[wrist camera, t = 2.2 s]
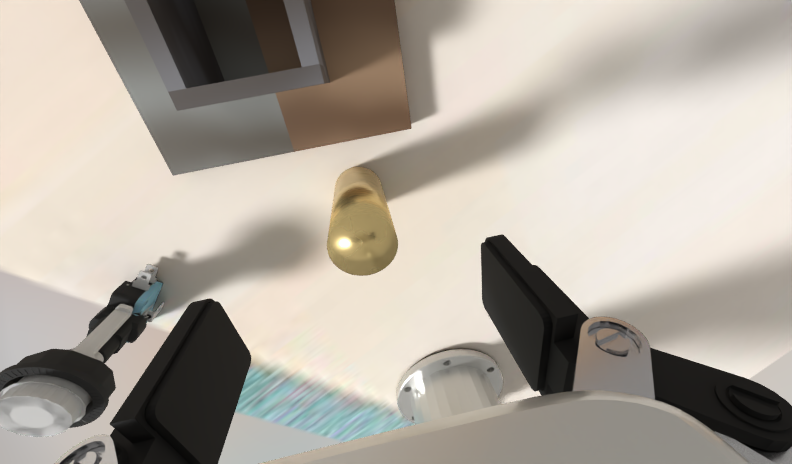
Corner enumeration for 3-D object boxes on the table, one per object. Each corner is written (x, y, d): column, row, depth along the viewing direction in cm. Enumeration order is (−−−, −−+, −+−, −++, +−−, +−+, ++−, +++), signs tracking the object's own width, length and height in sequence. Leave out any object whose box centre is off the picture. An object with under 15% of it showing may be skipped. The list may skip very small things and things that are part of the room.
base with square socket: (407, 125, 22) (428, 141, 16) (184, 169, 21) (121, 203, 15) (367, -163, 15) (378, -313, 9) (39, -113, 14) (-168, -243, 9)
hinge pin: (385, 206, 24) (402, 267, 16) (341, 215, 24) (337, 281, 16) (377, 162, 23) (391, 207, 15) (329, 172, 22) (318, 222, 14)
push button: (119, 248, 23) (-26, 354, 14) (194, 275, 25) (107, 384, 16) (99, 309, 25) (-38, 435, 16) (169, 329, 27) (81, 453, 18)
